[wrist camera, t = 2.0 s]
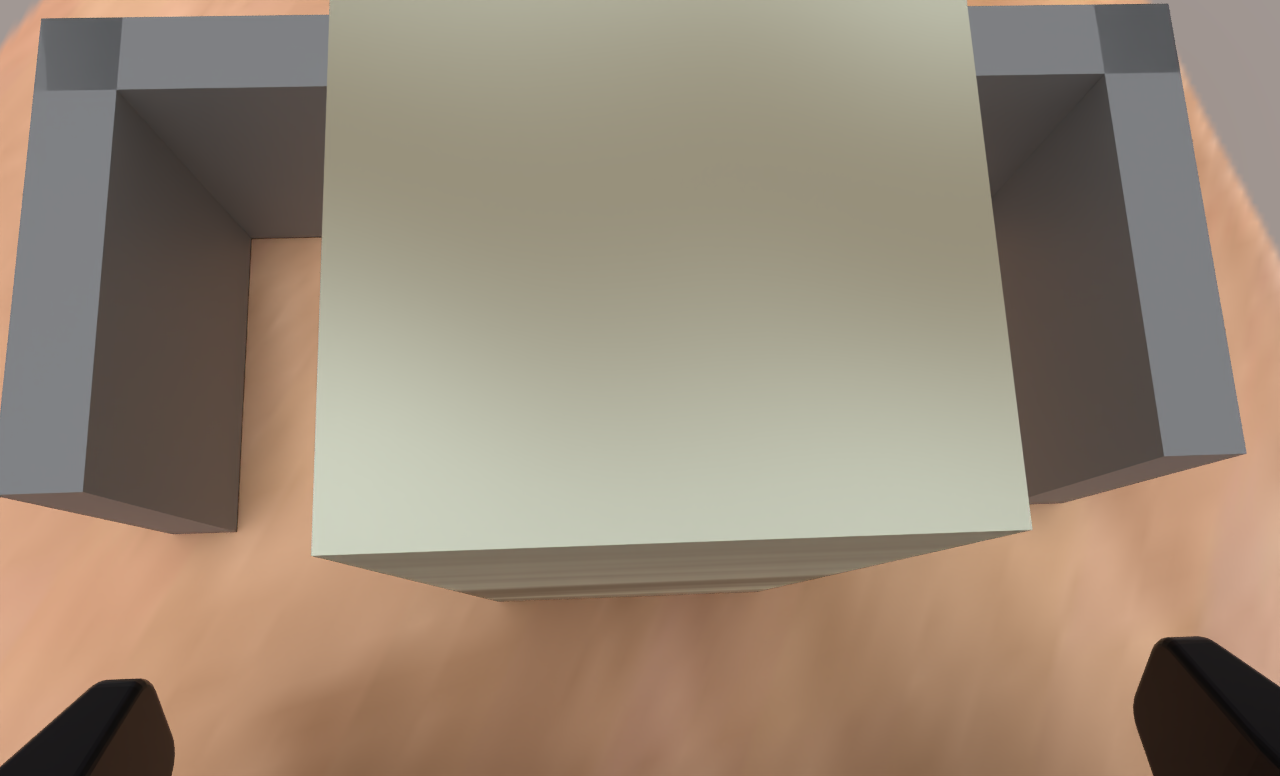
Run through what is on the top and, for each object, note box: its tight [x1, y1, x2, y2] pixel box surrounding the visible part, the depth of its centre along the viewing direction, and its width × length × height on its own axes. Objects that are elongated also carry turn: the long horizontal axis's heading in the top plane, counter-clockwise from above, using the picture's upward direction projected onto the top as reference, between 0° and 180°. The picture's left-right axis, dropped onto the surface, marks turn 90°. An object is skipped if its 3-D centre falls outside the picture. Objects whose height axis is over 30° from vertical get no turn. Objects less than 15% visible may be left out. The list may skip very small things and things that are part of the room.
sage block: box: [311, 0, 1032, 601], centre depth 14 cm, size 5×5×13 cm
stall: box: [0, 4, 1247, 534], centre depth 18 cm, size 7×17×6 cm, turn 92°
